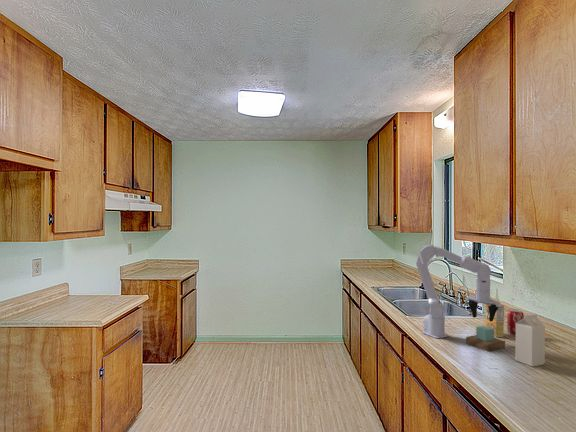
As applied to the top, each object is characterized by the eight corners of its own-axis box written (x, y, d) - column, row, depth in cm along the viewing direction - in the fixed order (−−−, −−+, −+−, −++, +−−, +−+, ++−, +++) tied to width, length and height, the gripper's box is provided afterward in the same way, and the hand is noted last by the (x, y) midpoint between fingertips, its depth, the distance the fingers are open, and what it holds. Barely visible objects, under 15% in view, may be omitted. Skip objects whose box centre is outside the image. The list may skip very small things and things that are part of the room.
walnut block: (466, 344, 171) (466, 336, 171) (482, 341, 175) (482, 334, 175) (487, 352, 161) (488, 344, 161) (504, 349, 165) (505, 341, 165)
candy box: (484, 331, 189) (484, 301, 189) (492, 331, 189) (492, 301, 189) (496, 337, 180) (496, 305, 180) (504, 337, 180) (504, 305, 180)
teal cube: (476, 337, 170) (476, 326, 170) (484, 336, 171) (484, 325, 171) (485, 341, 165) (485, 330, 165) (493, 340, 167) (494, 328, 167)
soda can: (527, 335, 183) (527, 311, 183) (517, 337, 181) (517, 312, 181) (513, 331, 190) (514, 307, 190) (503, 332, 187) (504, 309, 187)
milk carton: (515, 360, 151) (515, 313, 151) (527, 358, 154) (528, 311, 154) (532, 367, 144) (532, 317, 144) (544, 364, 147) (545, 316, 147)
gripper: (463, 288, 177) (463, 316, 177) (495, 293, 165) (494, 324, 165) (471, 286, 181) (470, 314, 181) (502, 291, 170) (502, 321, 170)
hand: (482, 319), depth 174 cm, fingers open, 7 cm apart
